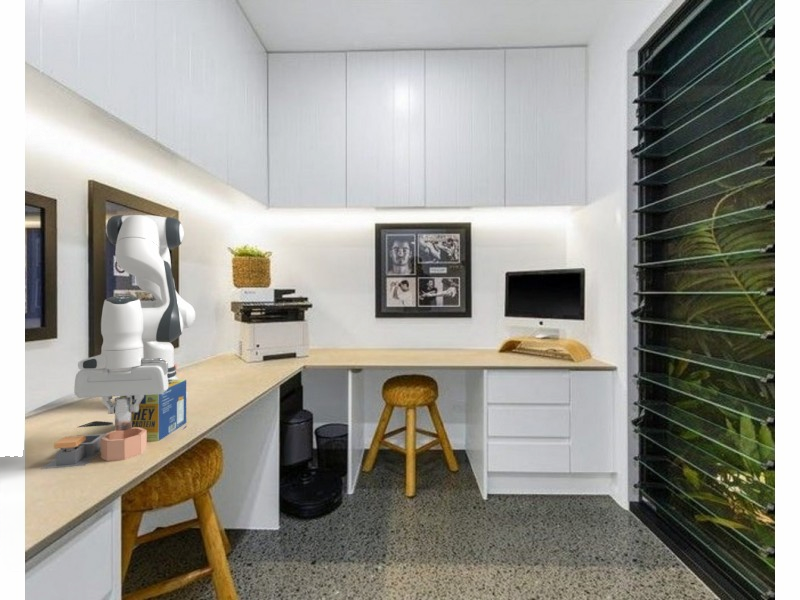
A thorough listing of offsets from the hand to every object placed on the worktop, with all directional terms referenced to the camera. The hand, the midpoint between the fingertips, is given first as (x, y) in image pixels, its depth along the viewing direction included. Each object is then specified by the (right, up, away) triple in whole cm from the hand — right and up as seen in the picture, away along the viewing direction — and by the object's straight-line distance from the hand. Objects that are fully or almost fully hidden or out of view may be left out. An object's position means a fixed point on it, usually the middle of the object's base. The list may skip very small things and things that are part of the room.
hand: (123, 412), depth 101 cm
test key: (-10, -10, -5) cm, 15 cm away
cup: (0, -12, +1) cm, 12 cm away
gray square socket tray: (-10, -12, -1) cm, 16 cm away
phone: (-25, -12, +18) cm, 33 cm away
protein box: (-1, -12, +16) cm, 20 cm away
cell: (0, -4, 0) cm, 4 cm away
